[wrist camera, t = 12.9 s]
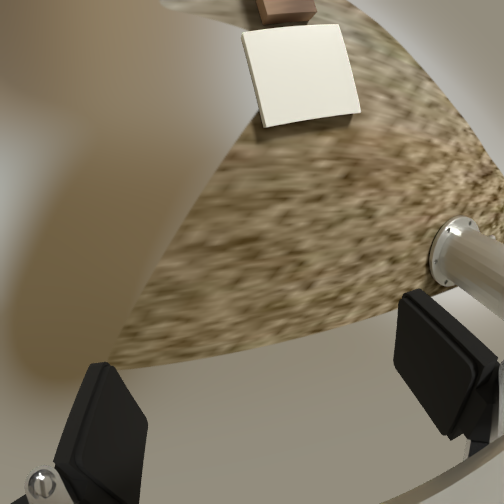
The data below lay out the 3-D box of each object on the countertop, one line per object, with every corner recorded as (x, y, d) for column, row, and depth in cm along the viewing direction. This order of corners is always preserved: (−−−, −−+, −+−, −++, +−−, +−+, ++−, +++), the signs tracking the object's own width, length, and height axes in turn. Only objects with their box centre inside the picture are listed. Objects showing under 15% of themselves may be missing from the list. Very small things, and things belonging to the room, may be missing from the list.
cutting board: (332, 28, 30) (338, 24, 28) (354, 113, 34) (361, 112, 33) (240, 37, 30) (242, 32, 28) (263, 127, 34) (266, 127, 32)
